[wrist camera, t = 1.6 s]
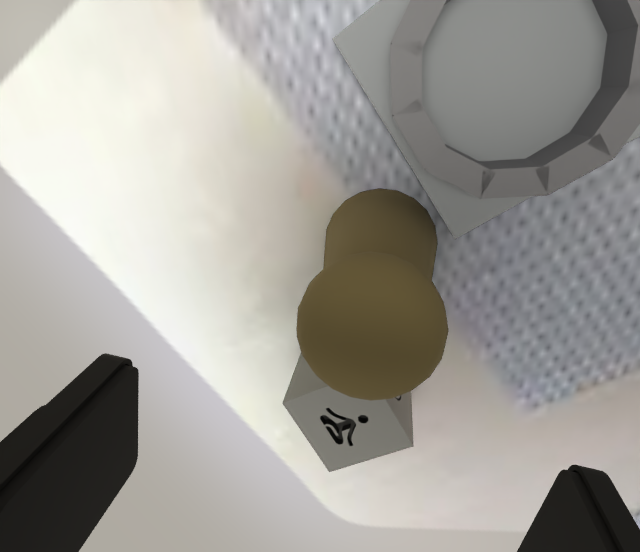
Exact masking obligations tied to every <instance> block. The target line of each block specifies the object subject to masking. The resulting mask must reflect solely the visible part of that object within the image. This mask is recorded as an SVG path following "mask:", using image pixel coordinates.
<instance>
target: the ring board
mask: <svg viewBox="0 0 640 552" xmlns="http://www.w3.org/2000/svg"><path fill="white" fill-rule="evenodd" d="M333 41H334V43H335V44H336V46H337V47H338V49H339V51H340V52H341V54H342V56H343V57H344V59H345V61H346V62H347V64H348V65H349V67H350V69H351V70H352V72H353V74H354V75H355V77H356V79H357V80H358V82H359V83H360V85H361V87H362V88H363V90H364V92H365V93H366V95H367V96H368V98H369V100H370V101H371V103H372V105H373V106H374V108H375V110H376V111H377V113H378V114H379V116H380V118H381V119H382V121H383V123H384V124H385V126H386V128H387V129H388V131H389V132H390V134H391V136H392V137H393V139H394V141H395V142H396V144H397V146H398V147H399V149H400V150H401V152H402V154H403V155H404V157H405V159H406V160H407V162H408V163H409V165H410V167H411V168H412V170H413V172H414V173H415V175H416V177H417V178H418V180H419V181H420V183H421V185H422V186H423V188H424V190H425V191H426V193H427V195H428V196H429V198H430V199H431V201H432V203H433V204H434V206H435V208H436V209H437V211H438V212H439V214H440V216H441V217H442V219H443V221H444V222H445V224H446V226H447V227H448V229H449V230H450V232H451V234H452V235H453V237H454V239H457V238H458V237H460V236H462V235H464V234H466V233H467V232H469V231H471V230H473V229H475V228H476V227H478V226H480V225H482V224H484V223H485V222H487V221H489V220H491V219H493V218H494V217H496V216H498V215H500V214H501V213H503V212H505V211H507V210H509V209H510V208H512V207H514V206H516V205H518V204H519V203H521V202H523V201H525V200H527V199H528V198H530V197H532V196H547V195H549V194H551V193H553V192H555V191H556V190H558V189H560V188H562V187H564V186H566V185H567V184H569V183H571V182H573V181H575V180H576V179H578V178H580V177H582V176H584V175H585V174H587V173H589V172H591V171H593V170H595V169H596V168H598V167H600V166H602V165H604V164H605V163H607V162H609V161H611V160H613V158H615V157H616V155H617V154H618V153H619V151H620V150H621V149H622V147H623V146H624V145H625V144H627V143H629V142H631V141H632V140H634V139H636V138H638V137H640V0H380V1H379V2H377V3H376V4H375V5H374V6H372V7H371V8H370V9H369V10H367V11H366V12H365V13H364V14H363V15H361V16H360V17H359V18H358V19H356V20H355V21H354V22H353V23H351V24H350V25H349V26H348V27H347V28H345V29H344V30H343V31H342V32H340V33H339V34H338V35H337V36H335V37H334V38H333Z"/></svg>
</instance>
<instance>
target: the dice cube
mask: <svg viewBox="0 0 640 552" xmlns="http://www.w3.org/2000/svg"><path fill="white" fill-rule="evenodd" d="M283 405H284V406H285V407H286V409H287V410H288V412H289V413H290V415H291V416H292V418H293V419H294V421H295V422H296V424H297V425H298V427H299V428H300V430H301V431H302V432H303V434H304V435H305V437H306V438H307V440H308V441H309V443H310V444H311V446H312V447H313V449H314V450H315V452H316V453H317V455H318V456H319V458H320V459H321V460H322V462H323V463H324V465H325V466H326V468H327V469H328V471H329V472H331V471H334V470H338V469H341V468H344V467H347V466H351V465H354V464H357V463H360V462H364V461H367V460H370V459H373V458H377V457H380V456H383V455H386V454H390V453H393V452H396V451H399V450H403V449H406V448H409V447H413V426H412V404H411V391H410V392H407V393H405V394H402V395H399V396H397V397H394V398H391V399H383V400H372V401H370V400H364V399H358V398H352V397H349V396H347V395H345V394H342V393H340V392H338V391H336V390H334V389H332V388H331V387H329V386H328V385H327V384H326V383H325V382H323V381H322V380H321V379H320V378H319V377H317V375H316V374H315V373H314V372H313V371H312V369H311V368H310V366H309V365H308V363H307V362H306V360H305V359H304V357H303V356H302V352H301V355H300V357H299V360H298V363H297V365H296V368H295V371H294V374H293V376H292V379H291V382H290V384H289V387H288V390H287V392H286V395H285V398H284V400H283Z"/></svg>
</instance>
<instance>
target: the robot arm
mask: <svg viewBox="0 0 640 552" xmlns="http://www.w3.org/2000/svg"><path fill="white" fill-rule="evenodd" d="M137 457H138V369H137V368H135V367H133V366H132V361H131V360H130V359H127V358H123V357H119V356H114V355H110V354H102V355H101V356H99V357H98V358H97V359H96V360H95V361H94V362H93V363H92V364H90V365H89V366H88V367H87V368H86V369H85V370H84V371H83V372H82V373H81V374H79V375H78V376H77V377H76V378H75V379H74V380H73V381H72V382H71V383H70V384H68V386H66V387H65V388H64V389H63V390H62V391H61V392H60V393H59V394H57V395H56V396H55V397H54V398H53V399H52V400H51V401H50V402H49V403H48V404H46V405H44V406H41V407H40V408H39V409H37V410H36V411H34V412H33V413H32V414H31V415H30V416H29V417H28V418H27V419H26V420H25V421H23V422H22V423H21V424H20V425H19V426H18V427H17V428H15V429H14V430H13V431H12V432H11V433H10V434H9V435H8V436H7V437H5V438H4V439H3V440H2V441H1V442H0V552H79V550H80V549H81V547H82V546H83V544H84V543H85V541H86V540H87V538H88V537H89V535H90V534H91V532H92V531H93V529H94V528H95V526H96V525H97V523H98V522H99V520H100V519H101V517H102V516H103V515H104V513H105V512H106V510H107V508H108V507H109V506H110V504H111V503H112V501H113V500H114V498H115V497H116V495H117V494H118V492H119V491H120V489H121V488H122V486H123V485H124V484H125V482H126V480H127V479H128V478H129V476H130V475H131V473H132V471H133V469H134V467H135V465H136V462H137ZM517 552H640V529H639V528H638V526H637V524H636V522H635V521H634V519H633V517H632V516H631V514H630V512H629V510H628V509H627V507H626V505H625V503H624V502H623V500H622V498H621V497H620V495H619V493H618V491H617V490H616V488H615V486H614V485H613V483H612V481H611V479H610V478H609V476H608V475H607V474H606V473H604V472H603V471H599V470H595V469H591V468H587V467H582V466H578V465H572V466H570V467H569V468H568V470H562V471H561V472H560V473H559V474H558V476H557V478H556V480H555V482H554V484H553V486H552V487H551V489H550V491H549V493H548V495H547V497H546V499H545V500H544V502H543V504H542V506H541V508H540V510H539V512H538V513H537V515H536V517H535V519H534V521H533V523H532V525H531V526H530V528H529V530H528V532H527V534H526V536H525V538H524V540H523V541H522V543H521V545H520V547H519V549H518V551H517Z"/></svg>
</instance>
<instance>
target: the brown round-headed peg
mask: <svg viewBox="0 0 640 552" xmlns="http://www.w3.org/2000/svg"><path fill="white" fill-rule="evenodd" d="M437 244H438V243H437V236H436V229H435V225H434V223H433V221H432V219H431V217H430V215H429V213H428V212H427V210H426V209H425V208H424V207H423V206H422V205H421V204H419V203H418V202H417V201H416V200H415V199H414V198H412V197H410V196H408V195H406V194H403V193H401V192H399V191H396V190H388V189H374V190H369V191H364V192H360V193H358V194H357V195H355V196H353V197H351V198H349V199H348V200H346V201H345V202H344V203H343V204H342V205H341V206H340V207H339V208H338V209H337V210H336V211H335V213H334V214H333V216H332V218H331V220H330V223H329V225H328V227H327V231H326V242H325V255H324V268H323V270H322V271H321V272H320V273H319V274H318V275H317V276H316V277H315V278H314V279H313V280H312V281H311V282H310V284H309V286H308V288H307V290H306V292H305V294H304V296H303V298H302V301H301V303H300V305H299V307H298V316H297V338H298V342H299V345H300V349H301V352H302V356H303V357H304V359H305V360H306V362H307V363H308V365H309V366H310V368H311V369H312V371H313V372H314V373H315V374H316V375H317V377H319V378H320V379H321V380H322V381H323V382H325V383H326V384H327V385H328V386H329V387H331V388H332V389H334V390H336V391H338V392H340V393H342V394H345V395H347V396H349V397H352V398H358V399H364V400H370V401H372V400H383V399H391V398H394V397H397V396H399V395H402V394H405V393H407V392H410V391H411V390H413V389H414V388H416V387H417V386H418V385H419V384H421V383H422V382H423V381H425V380H426V379H427V378H429V377H430V376H431V374H432V373H433V371H434V370H435V368H436V367H437V365H438V363H439V362H440V360H441V359H442V355H443V352H444V348H445V343H446V339H447V335H448V325H447V318H446V311H445V306H444V303H443V300H442V298H441V297H440V295H439V293H438V291H437V289H436V287H435V286H434V284H433V282H432V275H433V269H434V262H435V256H436V250H437Z"/></svg>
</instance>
